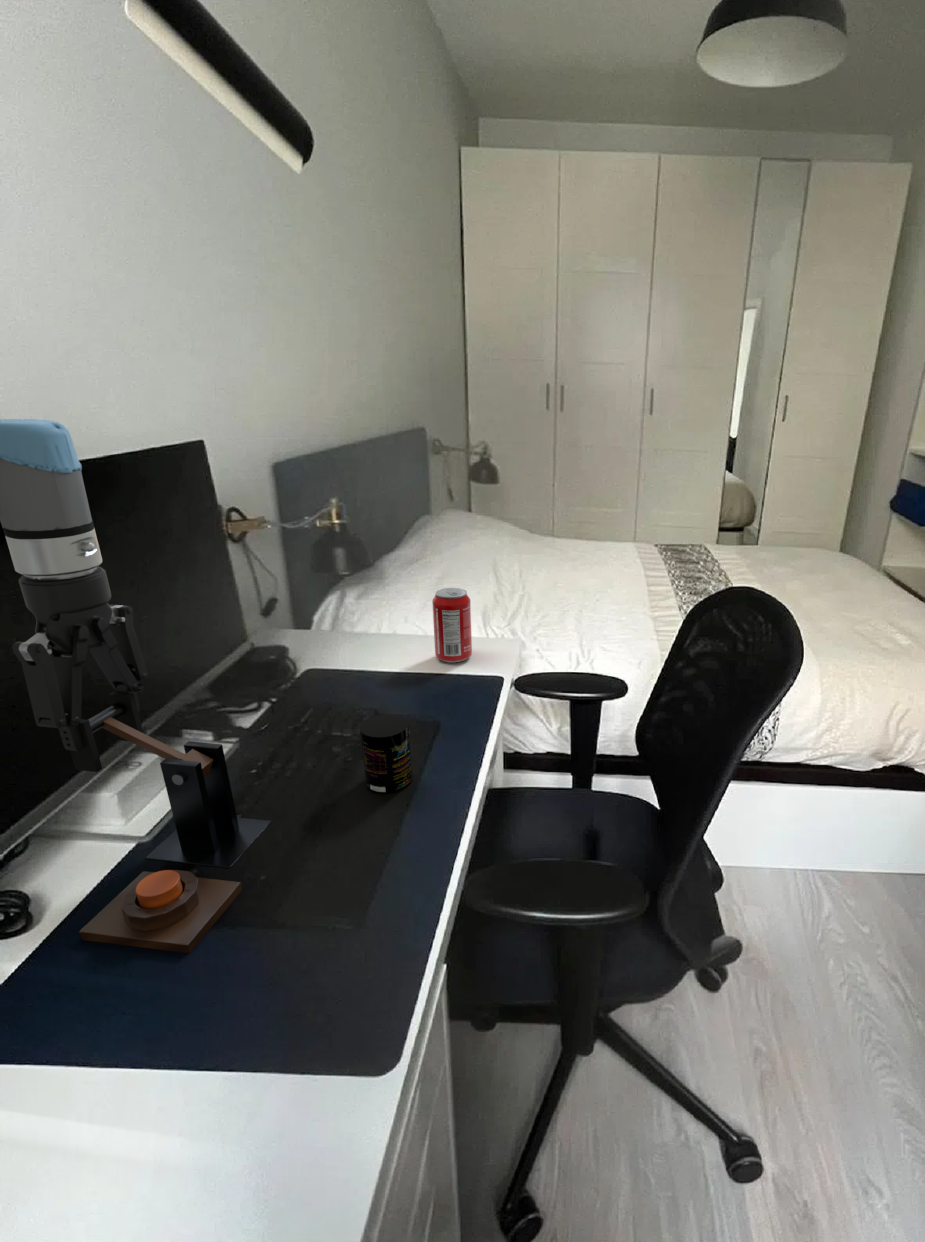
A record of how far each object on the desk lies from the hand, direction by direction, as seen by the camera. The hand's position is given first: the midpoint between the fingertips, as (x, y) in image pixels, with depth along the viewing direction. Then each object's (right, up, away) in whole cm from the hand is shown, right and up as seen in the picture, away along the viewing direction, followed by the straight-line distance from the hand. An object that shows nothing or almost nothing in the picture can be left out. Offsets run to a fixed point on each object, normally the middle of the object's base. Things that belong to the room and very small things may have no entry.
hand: (111, 753), depth 78 cm
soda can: (+29, +10, +62) cm, 69 cm away
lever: (+5, 0, -1) cm, 5 cm away
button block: (+12, -17, -8) cm, 22 cm away
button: (+12, -14, -9) cm, 20 cm away
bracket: (+10, -12, +4) cm, 16 cm away
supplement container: (+29, -8, +17) cm, 34 cm away
